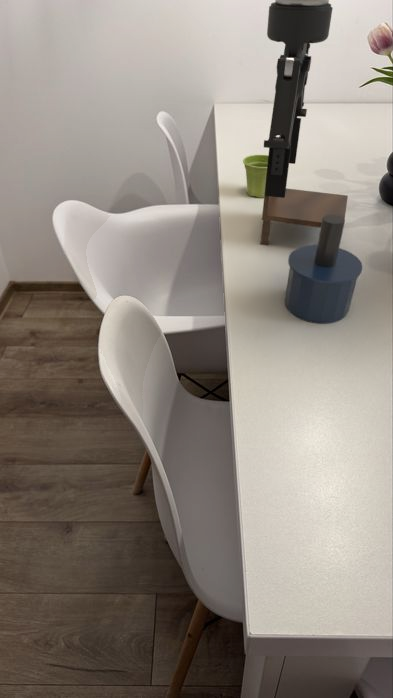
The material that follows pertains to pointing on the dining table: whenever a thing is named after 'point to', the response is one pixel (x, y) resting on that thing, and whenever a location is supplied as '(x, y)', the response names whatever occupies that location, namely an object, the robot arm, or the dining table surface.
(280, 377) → the dining table surface
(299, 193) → the wooden toy chair
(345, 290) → the pot
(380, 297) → the dining table surface
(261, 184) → the plant pot
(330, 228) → the lid
